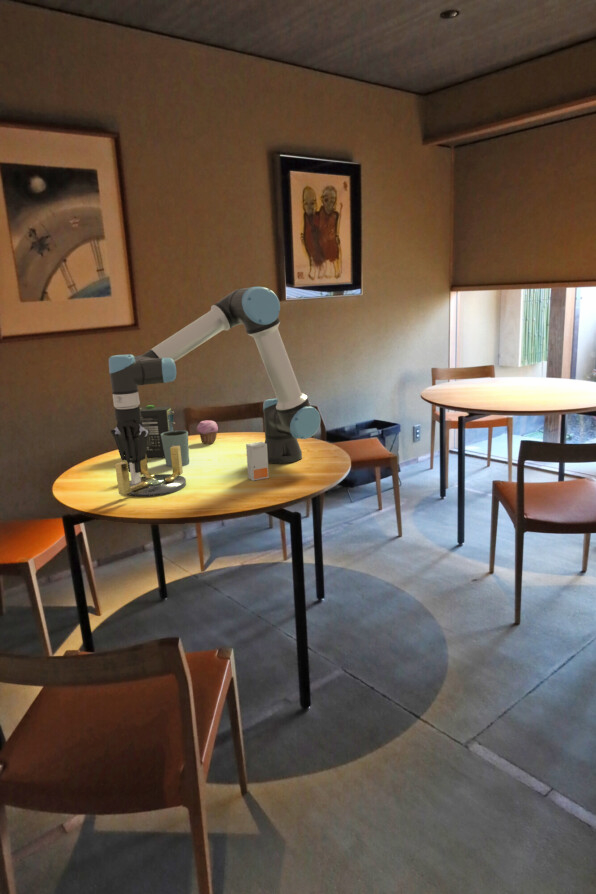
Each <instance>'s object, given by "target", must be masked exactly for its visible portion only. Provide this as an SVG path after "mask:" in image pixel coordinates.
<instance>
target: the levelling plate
mask: <svg viewBox="0 0 596 894" xmlns="http://www.w3.org/2000/svg"><path fill="white" fill-rule="evenodd" d="M171 474H172V473H168V474H167V473H164V474H163V473H161V474H154V477H155V478H151V479H148V480H147V479H146V477H145V476H144V475H143V476H140V479H141V482H143V481H147V482H148V487H142V488H139V489H137V490H134V491H131V492H130V493H128V494H127V495H128V496H130V497H131V496H132V497H140V498H141V497H143V498H144V497H147V498H148V497H159V496H165V495H169V494H172V493H175V492H178V491H180V490H182V489H184V488H186V486H187V482H186V478H185V477H184V476H183V475H178V476H177V477H176V478H175V479H174V481H173V482H166V480H165V478H166V477H169V476H170V475H171ZM139 483H140V482H138V483H136V484H132V481H131V480H130V487H131V486H134V485H137V484H139Z"/></svg>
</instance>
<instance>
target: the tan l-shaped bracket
mask: <svg viewBox="0 0 596 894" xmlns="http://www.w3.org/2000/svg"><path fill="white" fill-rule="evenodd" d="M170 451H171V460H172V467H171V469H172V470H171V471H172V473H170V474H171V475H170V476H169V477H166V478H165V480H166V482H173V481H174V479H175V478H176V477H177V476H178V475H179V476H182V475H183V466H182V460H181V449H180V446H172V447H171V448H170Z"/></svg>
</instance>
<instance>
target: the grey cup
mask: <svg viewBox="0 0 596 894" xmlns="http://www.w3.org/2000/svg"><path fill="white" fill-rule="evenodd" d="M161 439H162V444H163V449H164V455H165V457H164V460H165V464H166V465H165V466H167V467H168V468H169V467H170V468H172V460H171V451H170V448H171V447H172V446H180V449H181V460H182V467H185V466H187V465H189V464H190V455H189V432H188V430H182V429H179V430H178V429H177V430H173V431H168V432H164V433H162V434H161Z"/></svg>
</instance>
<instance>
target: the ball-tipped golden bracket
mask: <svg viewBox="0 0 596 894" xmlns="http://www.w3.org/2000/svg"><path fill="white" fill-rule="evenodd" d="M114 466H115V473H116V482H117V489H118V494H119V495H128V493H130V492H131V491H134V490H137V489H139V488H142V487H148V482H147V481H143V482H140V483H139V484H137V485H134V486H131V487H130V481H131V479H130V472H129V471H128V463H127V462H126V461H120V462H116V463H115V464H114Z"/></svg>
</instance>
